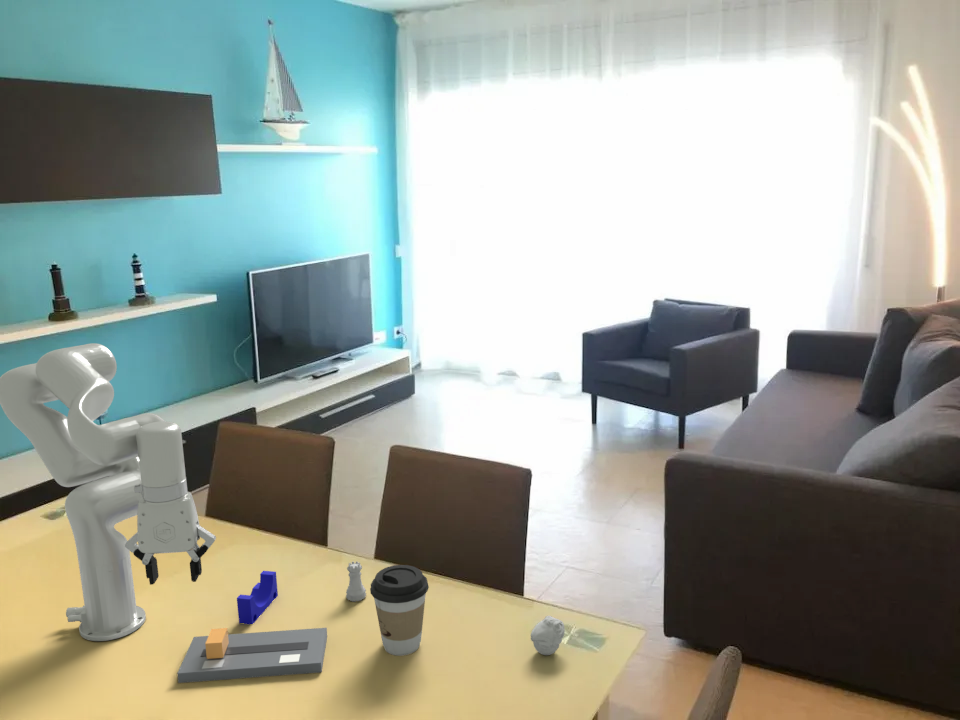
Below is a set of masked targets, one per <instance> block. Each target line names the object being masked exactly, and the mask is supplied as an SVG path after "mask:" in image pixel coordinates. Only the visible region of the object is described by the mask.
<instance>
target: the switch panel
mask: <svg viewBox="0 0 960 720" xmlns="http://www.w3.org/2000/svg"><path fill="white" fill-rule="evenodd" d="M327 628H328V627H317V628H316V627H315V628H303V629H302V628H300V629H288V630H287V629H285V630H273V631H259V632H247V633H246V632H244V633H232V634H231V633H228V639H229V644H228V646H227V649H226V652H225V654H224V657H223V658H212V659H207V655H206V646H205V643H206V641H207V638H208V636H209V635H200V636H193V638H192V641H191V643H190V645H189V646H188V649H187V652H186V654H185V655H184V658H183V660H182V662H181V664H180V666H179V669H178V671H177V675H176V676H177V683H178V684H181V683H182V684H184V683H195V682H209V681H210V682H211V681H222V680H225V681H226V680H236V679H248V678H251V679H252V678H264V677H276V676H278V677H279V676H289V675H292V676H293V675H302V674H303V675H304V674H306V675H307V674H318V673H322V672H323V666H324V659H325V653H326V647H327V641H328V629H327Z"/></svg>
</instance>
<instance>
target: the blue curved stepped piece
mask: <svg viewBox="0 0 960 720" xmlns="http://www.w3.org/2000/svg"><path fill="white" fill-rule="evenodd" d="M259 577H260V579H259V582H257V583H256V584H255V585H254V586H253V588H252V590H251V593H250V595H249V594H239V595H238V596H237V598H236V606H237V613H238V614H237V615H238V623H239V624H240V623H244V624H243V625H250V624H253V623H254V624H255V622H257V620H258V619H259V618H260V617H261V616H260V615H262V614H263V613H264V612H265V611H266V610H267V609H268V608H267V607H270V606H271V604H272V603H273V602H274V601H275V600H276V599H277V597H279V594H278V592H279V591H278V580H277V571H271V570H270V571H269V570H262V571H261V573H260V574H259ZM274 599H275V600H274ZM273 600H274V601H273ZM272 601H273V602H272ZM266 608H267V609H266ZM265 609H266V610H265ZM259 616H260V617H259ZM254 624H253V625H254Z"/></svg>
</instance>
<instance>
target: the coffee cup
mask: <svg viewBox="0 0 960 720" xmlns="http://www.w3.org/2000/svg"><path fill="white" fill-rule="evenodd" d="M429 588H430V587H429V583H428V578H427V576H425V575H424V574H423V572H422V570H421V569H420V568H418V567H416V566H413V565H408V564H396V565H391V566H387V567H384V568H382V569H381V570H379V571H378V572H377V573H376V575H375V577H374V578H373V579H372V581H371V583H370V588H369V591H370V594H371V596H372V597H373V598H374V605H375V610H376V616H377V619H378V620H377V621H378V627H379V631H380V635H381V642H382V645H383V647H384V650H385V652H386V653H388V654H390V655H393V656H398V657H400V656H408V655H410V654H411V655H412V654H413V653H415V652H416V651H417V650H418V649H419V648H420V644H421V641H422V633H423V623H424V615H425V614H424V613H425V604H426V594H427V592H428V591H429Z"/></svg>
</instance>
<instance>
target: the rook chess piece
mask: <svg viewBox="0 0 960 720" xmlns="http://www.w3.org/2000/svg"><path fill="white" fill-rule="evenodd" d="M346 569H347V571H348V578H349V583H348V584H349V585H348V586H347V589H346V592H345V598H346V599H347V600H348V601H349V600H350V601H349V602H353V603H355V602H356V601H357V602H360V601H363V600H364V599H365V598H366V596H367V593H366V591H367V590H366V588H365V586H364V585H363V583H362V578H361V577H362V572H361V570H362V569H363V567H362V565H361V562H359V561H354V560H353V561H351V562H348V566H347V568H346ZM362 599H363V600H362Z"/></svg>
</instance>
